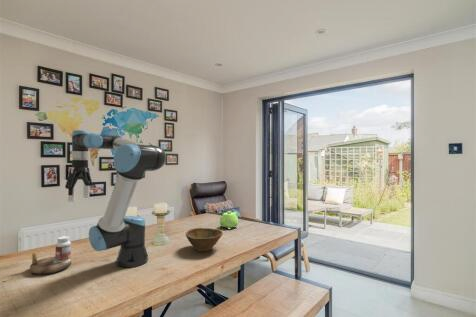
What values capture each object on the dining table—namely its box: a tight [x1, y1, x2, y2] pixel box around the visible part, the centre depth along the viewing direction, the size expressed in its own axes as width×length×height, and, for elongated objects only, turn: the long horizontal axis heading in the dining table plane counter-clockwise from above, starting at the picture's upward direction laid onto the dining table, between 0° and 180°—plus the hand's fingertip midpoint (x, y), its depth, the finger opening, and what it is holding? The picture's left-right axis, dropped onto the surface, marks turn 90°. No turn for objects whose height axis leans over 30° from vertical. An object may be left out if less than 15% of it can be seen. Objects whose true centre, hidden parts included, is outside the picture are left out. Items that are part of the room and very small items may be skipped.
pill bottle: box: [54, 235, 72, 262], centre depth 129 cm, size 6×6×11 cm
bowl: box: [185, 227, 224, 252], centre depth 158 cm, size 22×23×10 cm
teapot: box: [219, 210, 239, 229], centre depth 208 cm, size 20×13×13 cm
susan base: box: [42, 269, 64, 275], centre depth 127 cm, size 12×12×1 cm
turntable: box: [29, 252, 72, 275], centre depth 127 cm, size 16×16×7 cm
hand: (79, 199), depth 142 cm, fingers open, 13 cm apart
